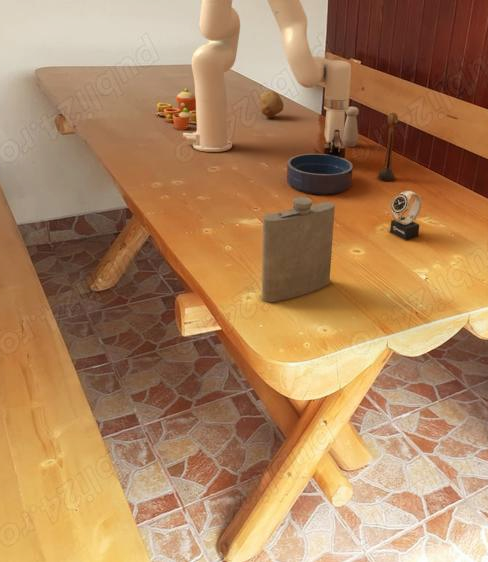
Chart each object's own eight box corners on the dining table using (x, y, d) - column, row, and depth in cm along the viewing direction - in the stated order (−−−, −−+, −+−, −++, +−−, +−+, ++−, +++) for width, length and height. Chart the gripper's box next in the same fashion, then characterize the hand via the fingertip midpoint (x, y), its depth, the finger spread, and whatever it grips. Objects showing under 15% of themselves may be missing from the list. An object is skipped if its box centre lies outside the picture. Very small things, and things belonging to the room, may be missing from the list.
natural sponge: (284, 115, 248) (285, 89, 243) (280, 121, 240) (281, 95, 236) (261, 113, 249) (262, 87, 244) (256, 119, 241) (257, 92, 236)
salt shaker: (356, 148, 218) (359, 110, 211) (339, 146, 218) (342, 108, 212) (359, 144, 223) (362, 106, 216) (343, 141, 223) (345, 104, 217)
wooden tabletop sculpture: (398, 182, 192) (406, 115, 182) (384, 183, 190) (391, 116, 180) (389, 175, 196) (396, 110, 187) (375, 176, 194) (382, 110, 185)
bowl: (288, 195, 176) (289, 174, 173) (285, 172, 192) (286, 152, 190) (355, 196, 179) (356, 176, 176) (346, 173, 195) (348, 154, 192)
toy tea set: (151, 112, 239) (149, 86, 234) (192, 109, 246) (190, 84, 242) (173, 132, 220) (171, 103, 215) (216, 128, 227) (215, 100, 222)
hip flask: (323, 277, 137) (329, 188, 127) (335, 285, 134) (341, 195, 124) (259, 296, 128) (259, 203, 118) (270, 306, 125) (271, 211, 115)
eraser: (322, 164, 201) (323, 147, 198) (321, 160, 204) (322, 143, 202) (345, 165, 202) (346, 148, 199) (343, 161, 205) (344, 144, 203)
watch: (384, 233, 158) (388, 191, 153) (407, 226, 163) (412, 186, 158) (399, 242, 155) (405, 199, 149) (423, 234, 159) (429, 193, 154)
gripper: (321, 96, 201) (318, 153, 210) (327, 110, 186) (323, 170, 195) (345, 97, 202) (341, 153, 211) (352, 111, 187) (348, 171, 196)
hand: (333, 161), depth 203 cm, fingers closed on eraser, 4 cm apart
